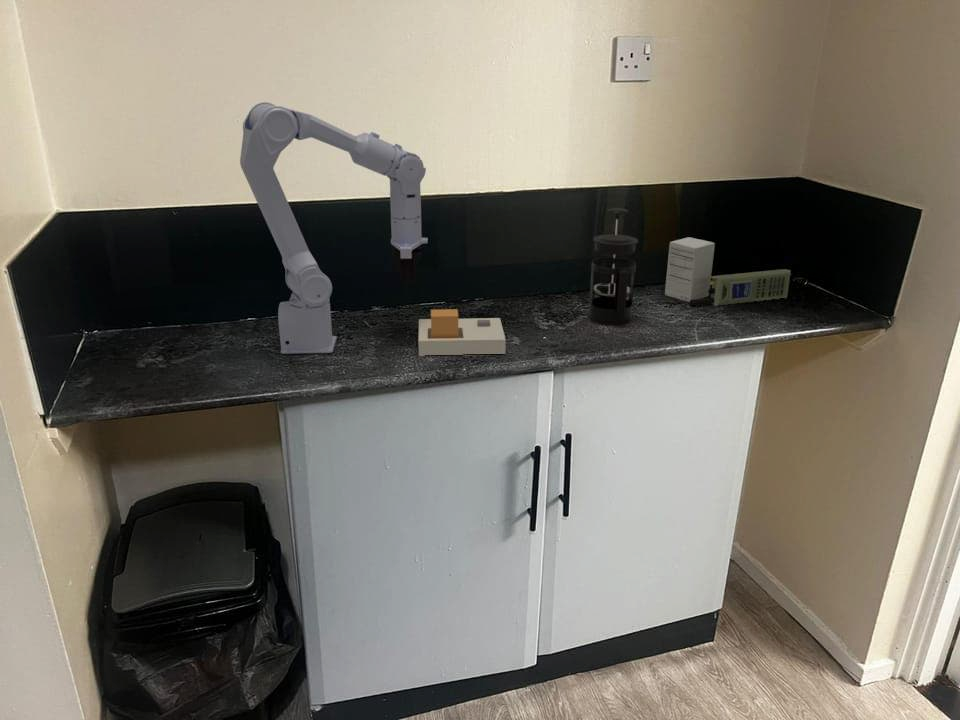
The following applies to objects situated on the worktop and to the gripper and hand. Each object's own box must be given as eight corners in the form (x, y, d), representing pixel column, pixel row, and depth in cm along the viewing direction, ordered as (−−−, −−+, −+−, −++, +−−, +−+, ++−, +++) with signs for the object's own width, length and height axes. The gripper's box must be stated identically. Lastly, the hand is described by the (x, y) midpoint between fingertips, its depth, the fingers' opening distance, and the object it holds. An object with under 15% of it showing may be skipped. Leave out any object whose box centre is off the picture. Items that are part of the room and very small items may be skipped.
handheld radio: (789, 299, 176) (694, 310, 169) (779, 296, 179) (686, 306, 172) (793, 271, 174) (697, 280, 167) (783, 267, 177) (688, 277, 170)
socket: (418, 356, 143) (418, 337, 141) (419, 333, 154) (418, 315, 152) (505, 354, 144) (505, 335, 142) (499, 332, 155) (500, 314, 153)
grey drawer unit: (683, 289, 183) (688, 236, 178) (709, 296, 177) (716, 242, 173) (663, 295, 178) (668, 241, 173) (690, 302, 173) (696, 247, 168)
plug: (431, 352, 145) (431, 316, 142) (431, 344, 148) (430, 309, 146) (458, 351, 145) (458, 316, 142) (457, 343, 149) (457, 309, 146)
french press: (580, 311, 167) (587, 204, 158) (622, 308, 169) (630, 203, 160) (597, 329, 157) (605, 216, 148) (641, 327, 158) (652, 214, 149)
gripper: (427, 224, 140) (428, 296, 145) (427, 208, 154) (428, 274, 159) (388, 224, 140) (390, 296, 145) (391, 208, 153) (393, 275, 158)
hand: (408, 285), depth 152 cm, fingers closed
